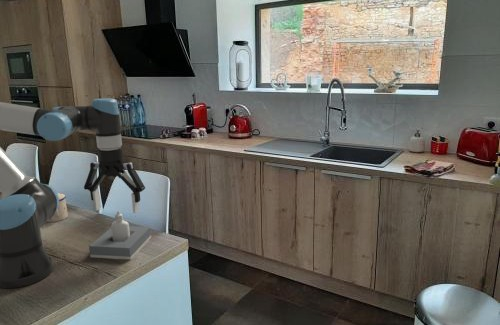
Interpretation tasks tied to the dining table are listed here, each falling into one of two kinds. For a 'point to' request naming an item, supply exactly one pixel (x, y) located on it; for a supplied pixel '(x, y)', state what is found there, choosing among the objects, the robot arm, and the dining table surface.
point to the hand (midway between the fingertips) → (116, 210)
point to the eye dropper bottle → (120, 228)
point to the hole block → (120, 244)
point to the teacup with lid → (60, 210)
